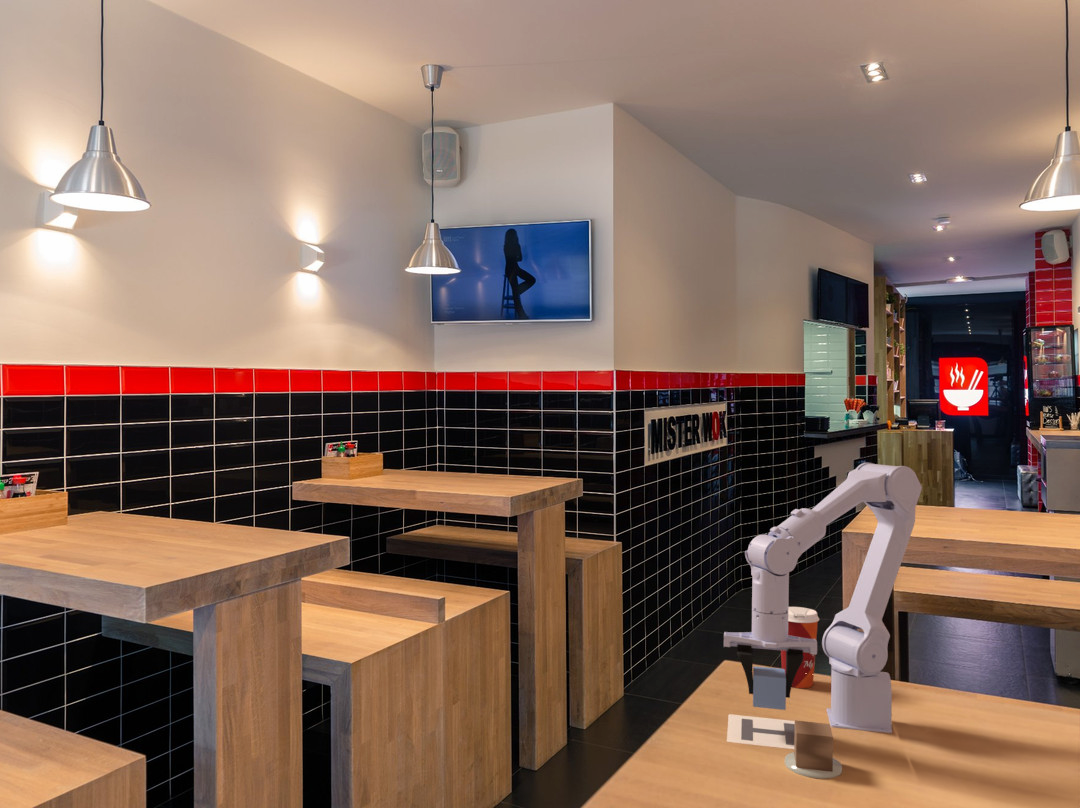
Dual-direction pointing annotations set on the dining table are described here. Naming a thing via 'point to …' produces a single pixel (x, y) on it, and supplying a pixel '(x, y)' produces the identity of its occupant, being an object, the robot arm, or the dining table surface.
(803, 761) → the walnut block
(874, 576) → the robot arm
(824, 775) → the saucer
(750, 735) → the letter card
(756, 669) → the blue cube
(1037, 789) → the dining table surface
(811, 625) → the paper cup
